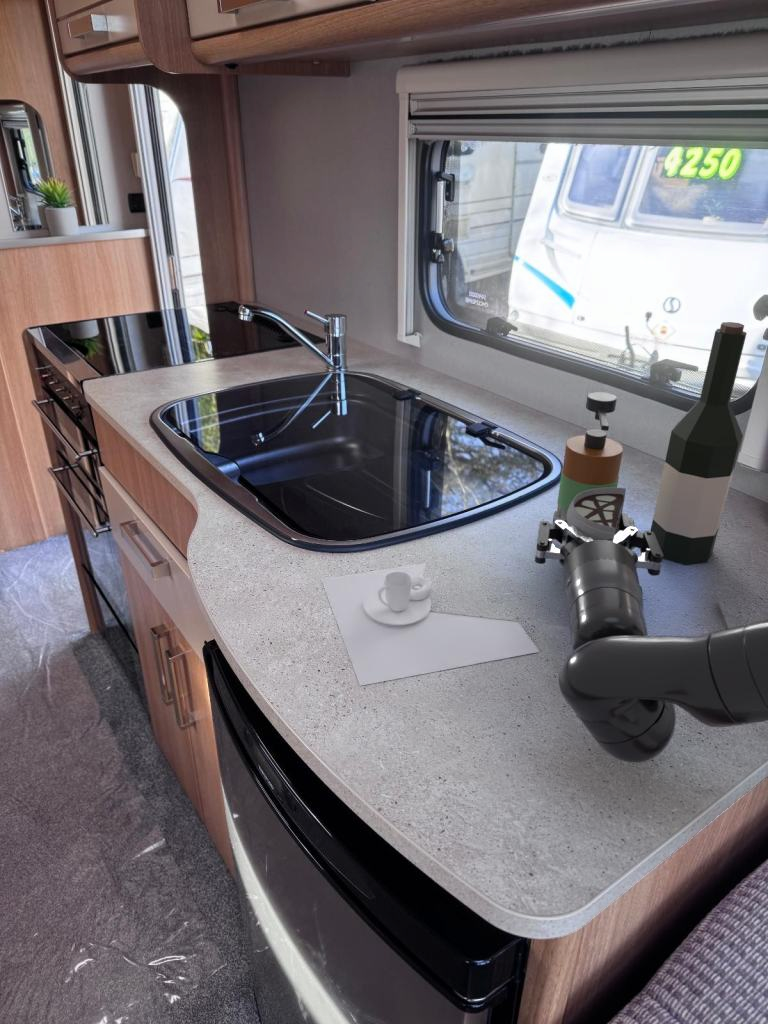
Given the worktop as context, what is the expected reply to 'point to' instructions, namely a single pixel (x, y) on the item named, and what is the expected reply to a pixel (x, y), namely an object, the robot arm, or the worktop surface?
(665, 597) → the worktop surface
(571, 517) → the food container
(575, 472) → the pump bottle
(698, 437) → the wine bottle
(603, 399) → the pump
